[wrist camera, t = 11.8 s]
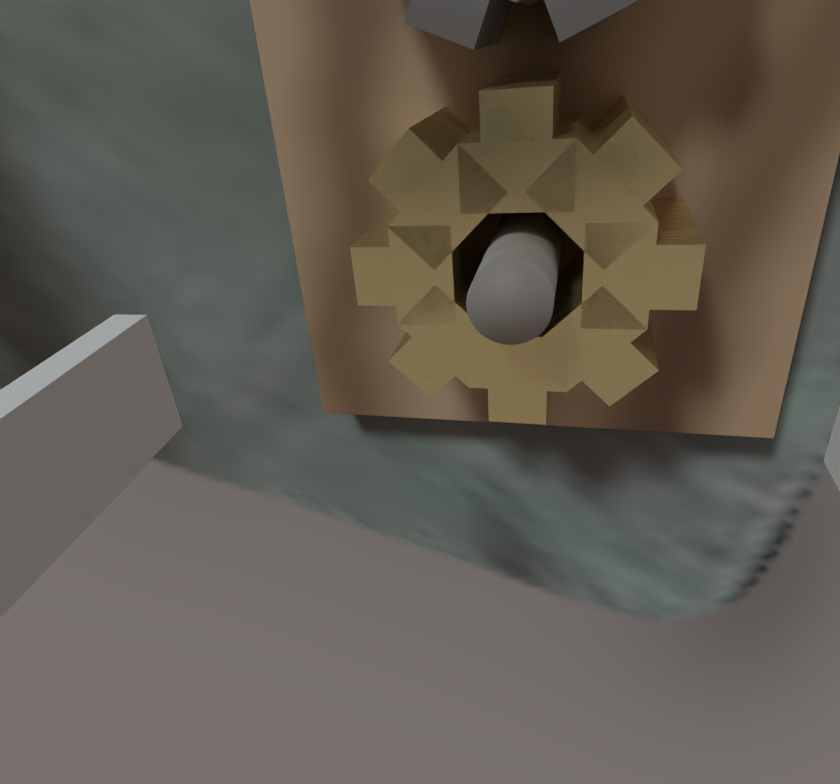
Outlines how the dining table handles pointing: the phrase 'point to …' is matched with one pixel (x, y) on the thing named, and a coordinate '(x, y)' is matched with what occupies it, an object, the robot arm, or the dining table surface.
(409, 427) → the dining table surface
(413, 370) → the brass gear
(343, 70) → the gear board
